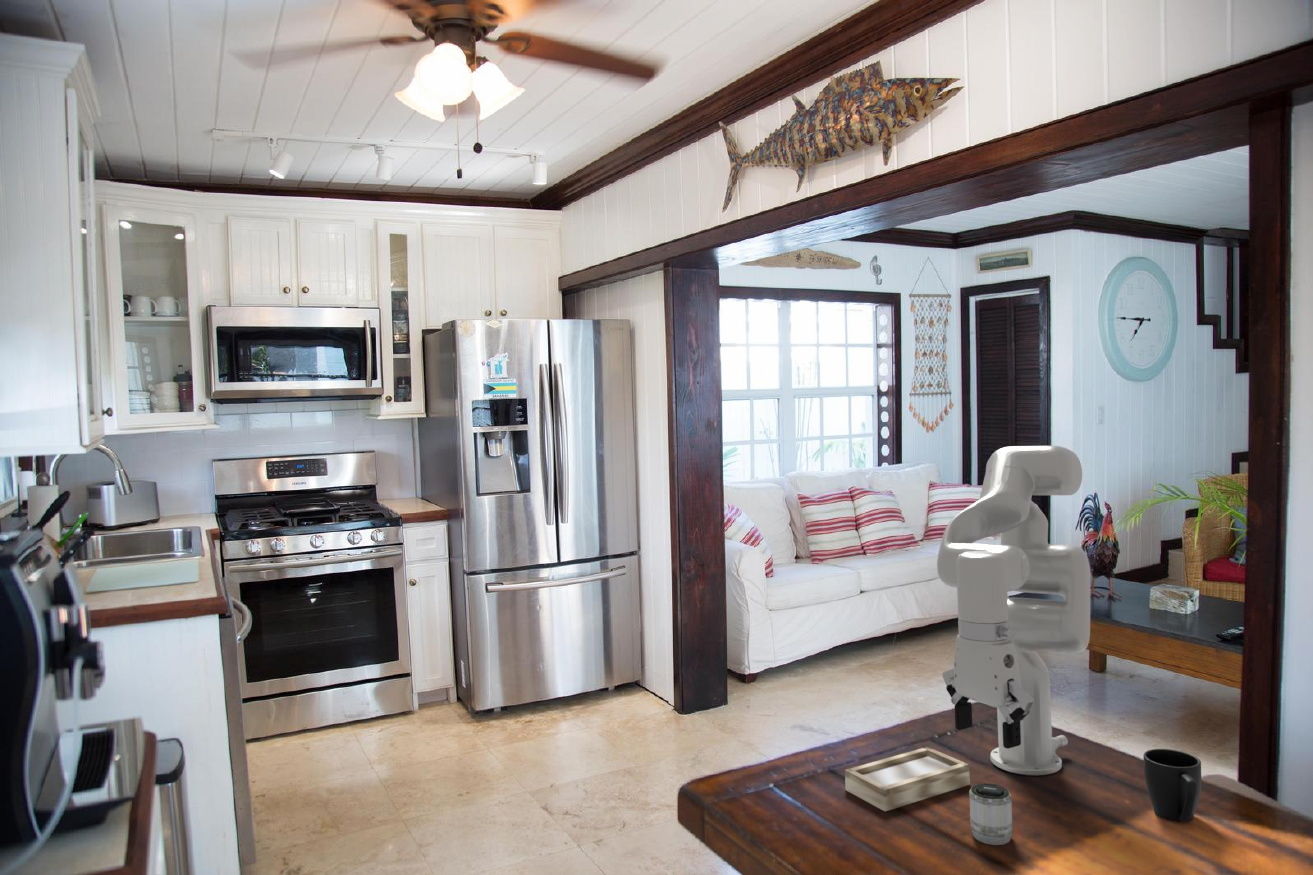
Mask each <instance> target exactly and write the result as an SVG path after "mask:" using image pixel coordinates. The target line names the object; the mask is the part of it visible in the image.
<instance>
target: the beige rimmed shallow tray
mask: <svg viewBox="0 0 1313 875" xmlns="http://www.w3.org/2000/svg"><path fill="white" fill-rule="evenodd" d="M844 778H845V781H844V783H845V790H846V791H847V792H848V793H850V794H852V795H854V796H856V797H857V798H859V799H861V800H863V801H864V802H867V803H869V804H870V805H872V806H873V807H876V808H878V809H880V810H882V812H887V811H891V810H895V809H898V808H901V807H904V806H906V805H907V806H908V805H910V804H913V803H917V802H920V801H923V800H927V799H929V798H933V797H936V796H938V795H939V796H940V795H941V794H945V793H948V792H951V791H954V790H957V789H960V788H964V787H967V786H970V785H971V782H970V781H971V779H970V778H971V777H970V764H969V763H966V762H964V761H962V760H960V759H957V758H955V757H952V756H950V755H947V754H945V753H943V752H940V751H938V750H936V749H934V748H932V747H929V746H925V747H921V748H918V749H915V750H911V751H907V752H904V753H899V754H897V755H894V756H890V757H886V758H883V759H879V760H876V761H872V762H868V763H865V764H862V765H859V766H858V765H857V766H854V767H850V768H847V769H845V770H844Z"/></svg>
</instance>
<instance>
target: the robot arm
mask: <svg viewBox="0 0 1313 875" xmlns="http://www.w3.org/2000/svg"><path fill="white" fill-rule="evenodd" d="M1082 482H1083V468H1082V463H1081V460H1080V458H1079V457H1078V455H1077V454H1076V453H1075V452H1073V451H1072V450H1070V449H1069V448H1066V447H1063V446H1060V445H1013V446H1012V445H1011V446H1004V447H1001V448H998V449H997V450H995V451H994V452H993V453H992V454H991V456H990V457H989V459H988V460H987V462H986V466H985V474H984V478H983V482H982V483H983V484H982V487H981V491H980V496H979V500H976V501H975V502H973V503H971V504H970V505H968V506H967V507H965V508H964V509H962V510H961V511H960V512H959V513H957V514H956V515H955V516H953V517H952V519H951V520H950V521H949V522H948V523H947V525H946V527H945V529H944V531H943V534H942V539H941V542H940V545H939V550H938V554H937V560H936V561H937V562H936V566H937V567H936V570H937V575H938V578H939V579H940V581H941V582H943V584H944V585H946V586H949V587H951V588H956V589H957V590H956V591H957V592H956V594H957V595H956V596H957V620H958V622H957V624H958V626H957V627H958V634H957V635H956V640H955V645H954V655H953V668H952V669H949V670H947V671H944V672H943V673H942V678H943V682H944V683H945V686H946V691H947V693H948V694H949V697H950V702H951V703H952V705H954V727H955V730H957V731H961V730H965V729H969V728H971V727H973V711H972V710H973V708H972V707H973V705H972V702H971V701H969V700H972V701H976V702H977V703H978V702H979V703H981V704H984V705H987V706H989V707H993V708H997V709H996V712H997V738H998V741H997V742H998V747H996V748H994V749H992V751H991V752H990V762H991V763H992V764H993V765H995V766H996V767H997V768H998V769H1001V770H1004V771H1007V772H1009V773H1014V774H1018V775H1025V776H1045V775H1051V774H1054V773H1055V774H1056V773H1058V772H1059V771H1060V770H1062V767H1063V761H1062V759H1061V757H1060V756H1059V755H1058V754H1056V750H1058V748H1060V747H1061V748H1062V747H1065V746H1066V745H1068V744H1069V740H1068V738H1067V737H1066V735H1063V734H1061V735H1057V736H1054V737H1053V728H1052V726H1053V725H1052V703H1051V701H1052V700H1051V677H1050V671H1049V669H1048V667H1047V665H1046V664H1045V662H1044V660H1043V659H1042V658H1041V656H1039V654H1038V653H1037V652H1040V651H1041V652H1051V653H1062V654H1063V653H1065V654H1079V653H1082V652H1084V651H1086V649H1088V646H1089V643H1090V637H1091V568H1090V561H1089V558H1088V555H1087V553H1086V552H1085V551H1084V549H1082V547H1079V546H1076V545H1072V544H1061V543H1060V544H1058V543H1057V544H1055V543H1049V541H1048V540H1049V522H1048V518H1047V517H1046V514H1044V513H1043V511H1042V510H1041V508H1040V507H1039V506H1038V505H1037V504H1036V503H1035V502H1033V500H1032V496H1072V495H1075V494H1076V493H1077V492H1078V491H1079V489H1080V487H1081V486H1082ZM997 535H1001V536H1000V544H994V543H993V544H991V543H976V542H977V541H980V540H983V539H985V538H988V537H993V536H997ZM1008 592H1017V593H1018V592H1019V593H1026V594H1027V593H1028V594H1044V595H1045V594H1046V595H1056V596H1057V595H1058V596H1061V597H1062V598H1063V600H1058V599H1045V598H1044V599H1043V598H1030V597H1008Z"/></svg>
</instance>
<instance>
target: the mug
mask: <svg viewBox="0 0 1313 875" xmlns="http://www.w3.org/2000/svg"><path fill="white" fill-rule="evenodd" d="M1142 759H1143V775H1144V781H1145V786H1146V790H1147V794H1148V796H1149V799H1150V803H1151V806H1152V809H1153V812H1154V814H1155V815H1156V816H1157V817H1159V818H1160V819H1162V820H1164V821H1168V822H1172V823H1173V822H1174V823H1183V824H1184V823H1189V822H1191V821H1193V820H1194V819H1195V818H1194V816H1195V813H1196V810H1197V808H1198V804H1199V800H1200V796H1201V791H1202V790H1201V789H1202V761H1201V760H1200V758H1198V757H1197V756H1195V755H1194V754H1191V753H1189V752H1186V751H1182V750H1176V749H1168V748H1154V749H1148V750H1147V751H1145V752H1144V753H1143V758H1142Z"/></svg>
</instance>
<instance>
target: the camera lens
mask: <svg viewBox="0 0 1313 875" xmlns="http://www.w3.org/2000/svg"><path fill="white" fill-rule="evenodd" d="M968 793H969V814H970V815H969V817H970V820H969V821H970V822H969V823H970V828H971V831H972V836H973V838H974V839H975V840H977V841H978V842H980V843H983V844H986V845H992V846H1000V845H1001V846H1002V845H1003V846H1004V845H1006V844H1008V843H1010V842H1011V839H1012V838H1011V837H1012V834H1013V806H1012V805H1013V804H1012V795H1011V792H1010V791H1009V790H1008V789H1007V788H1005V787H1004V786H1001V785H998V784H997V783H996V784H995V783H994V784H993V783H985V782H984V783H978V784H975V785H973V786H972V787H971V788H970V789H969V792H968Z"/></svg>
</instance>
